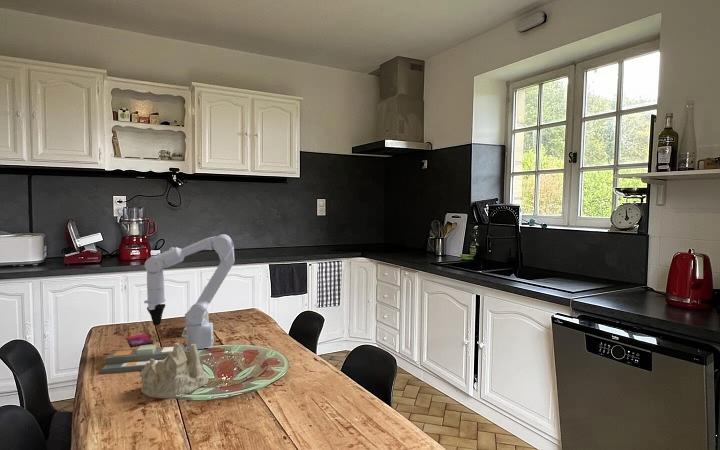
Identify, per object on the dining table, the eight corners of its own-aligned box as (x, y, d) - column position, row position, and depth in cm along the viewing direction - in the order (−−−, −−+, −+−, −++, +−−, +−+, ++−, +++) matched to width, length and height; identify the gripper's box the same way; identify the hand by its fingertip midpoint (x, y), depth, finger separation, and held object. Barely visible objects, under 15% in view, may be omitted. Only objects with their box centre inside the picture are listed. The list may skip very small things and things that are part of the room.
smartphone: (146, 333, 183) (153, 342, 171) (146, 335, 183) (153, 344, 171) (125, 337, 178) (131, 346, 166) (125, 339, 179) (131, 348, 166)
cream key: (179, 351, 155) (179, 346, 155) (176, 356, 150) (176, 350, 150) (164, 353, 154) (164, 347, 154) (160, 357, 149) (160, 352, 149)
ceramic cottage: (216, 381, 132) (211, 332, 132) (168, 405, 118) (162, 350, 118) (182, 375, 140) (177, 329, 140) (134, 396, 126) (128, 345, 125)
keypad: (186, 351, 161) (186, 341, 160) (178, 367, 145) (177, 356, 145) (118, 357, 156) (117, 347, 156) (101, 373, 140) (101, 362, 140)
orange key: (133, 355, 152) (133, 349, 152) (128, 360, 147) (128, 354, 147) (117, 356, 151) (117, 351, 151) (112, 361, 146) (112, 355, 146)
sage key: (156, 350, 153) (156, 344, 153) (152, 354, 148) (152, 348, 148) (141, 351, 152) (140, 345, 152) (136, 356, 147) (136, 350, 147)
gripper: (149, 285, 168) (150, 320, 169) (138, 292, 154) (139, 330, 155) (168, 284, 170) (169, 319, 170) (159, 291, 156) (161, 329, 156)
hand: (157, 324), depth 163 cm, fingers closed
